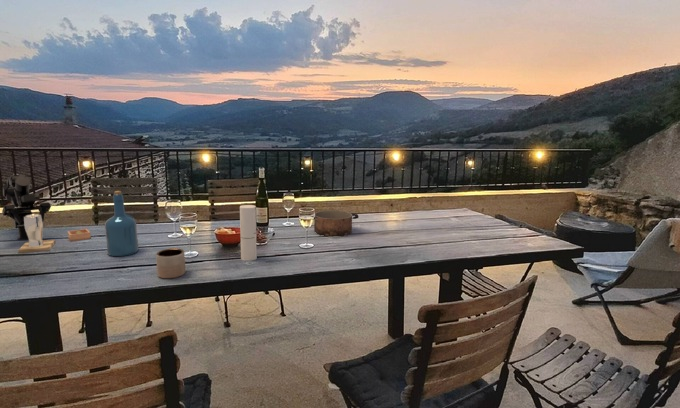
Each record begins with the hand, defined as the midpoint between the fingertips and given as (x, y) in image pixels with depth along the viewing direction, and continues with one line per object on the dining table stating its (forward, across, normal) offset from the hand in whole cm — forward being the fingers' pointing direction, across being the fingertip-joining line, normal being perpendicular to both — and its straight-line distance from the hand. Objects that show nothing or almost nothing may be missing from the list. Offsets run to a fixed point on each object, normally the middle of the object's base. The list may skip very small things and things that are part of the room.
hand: (31, 223), depth 195 cm
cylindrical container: (+69, +56, -68) cm, 112 cm away
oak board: (+12, 0, +3) cm, 13 cm away
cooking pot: (+67, +119, -71) cm, 154 cm away
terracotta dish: (+10, +20, +4) cm, 22 cm away
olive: (+8, +19, +2) cm, 21 cm away
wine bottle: (+37, +23, -27) cm, 51 cm away
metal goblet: (+13, -1, +1) cm, 13 cm away
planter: (+65, +23, -59) cm, 91 cm away
